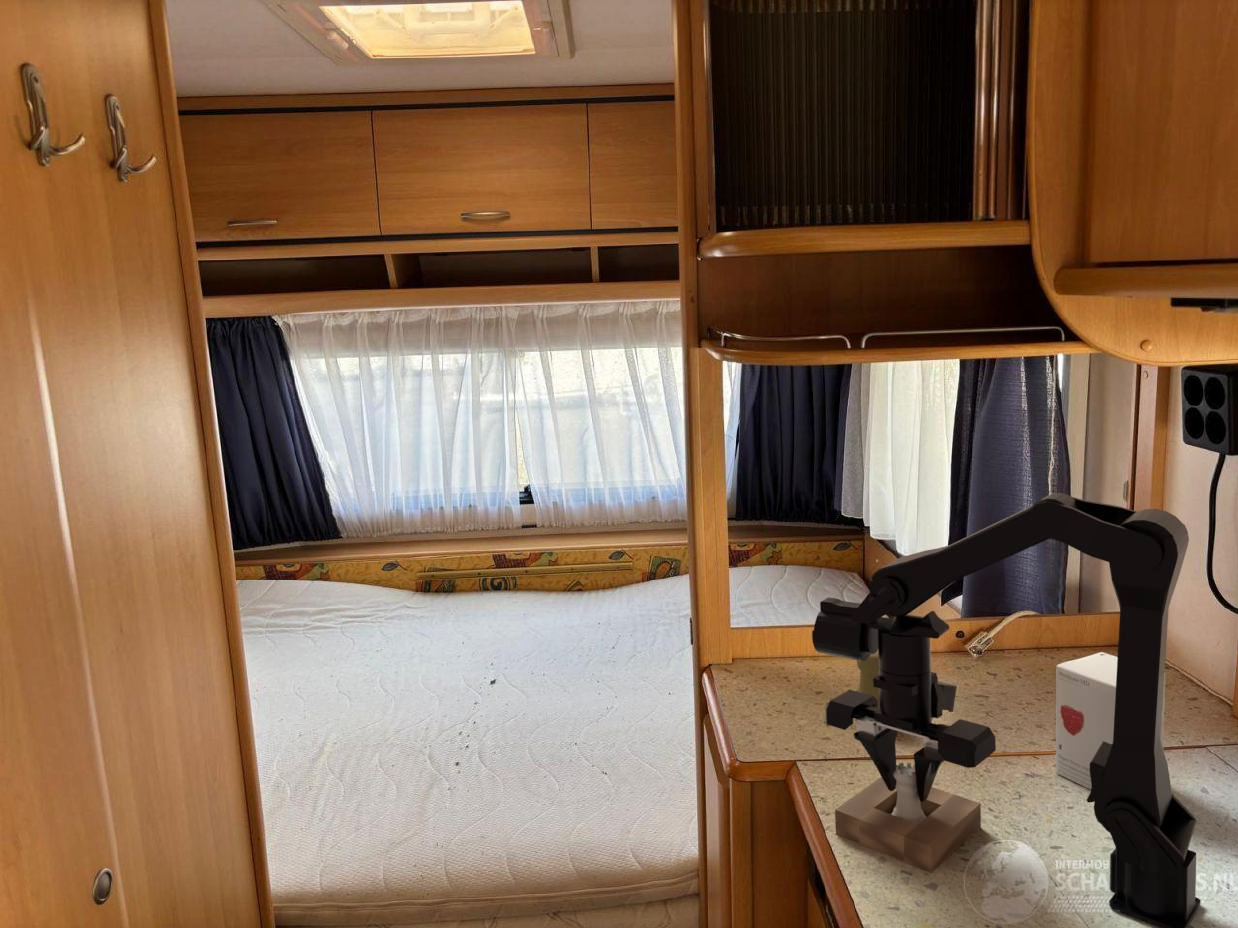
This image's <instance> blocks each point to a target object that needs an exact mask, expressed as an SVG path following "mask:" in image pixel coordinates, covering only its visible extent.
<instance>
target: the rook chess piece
mask: <svg viewBox="0 0 1238 928" xmlns="http://www.w3.org/2000/svg"><path fill="white" fill-rule="evenodd" d="M893 776H894V777H895V779H896V780H897V784H896V786H895V787H896V789H897V802H896V807H895V808H894V810H893V811H894V812H892V814H891V815H894V816H896V817H899V818H902V819H904V820H907V821H910V822H912V823H915V824H919V823H920V822H922V821H923V820H924V819H925V818H926V816H925V815H924V812H923V810H922V809H921V805H920V800H919V796H918V792H917V783H916V773H915V764H913V765H912V763H911V762H906V765H904V763H903V762H900V763H898V764H896V770H895V771H894V773H893Z"/></svg>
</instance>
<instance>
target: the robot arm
mask: <svg viewBox="0 0 1238 928" xmlns="http://www.w3.org/2000/svg"><path fill="white" fill-rule="evenodd" d="M1052 539H1053V540H1055V541H1058V542H1061V543H1063V544H1065V545H1067V546H1069V547H1071V548H1073V549H1075V550H1076V551H1079V552H1080V553H1083V554H1084V555H1087V556H1090V557H1091V558H1094V559H1097V560H1101V561H1104V562H1107V563H1109V564H1108V565H1109V570H1110V571H1109V572H1110V577H1111V582H1112V585H1113V589H1114V592H1115V593H1114V594H1115V596H1116V598H1117V602H1118V605H1119V624H1118V627H1119V628H1118V642H1117V643H1118V645H1117V657H1118V659H1117V677H1116V696H1115V714H1114V732H1113V744H1109V743H1107V742H1104V741H1103V742H1102V743H1101V745H1100V747H1099V749H1098V750H1097V752H1096V754H1095V755H1094V757H1093V759H1092V760H1091V762H1090V777H1091V786H1092V787H1091V790H1090V792H1089V795H1088V796H1087V797H1086V802H1087V803H1093V810H1094V817H1095V818H1096V821H1097V823H1099V824H1100V825H1101V826H1102V827H1103V828H1104V829H1105V830H1106V832H1108V833H1109V834H1110V836H1111V839H1112V842H1113V844H1114V847H1115V848H1114V850H1112V852H1111V853H1110V855H1109V859H1110V860H1109V890H1110V892H1111V893H1113V895H1112V897H1111V898H1110V899H1109V901H1108V903H1109V904H1108V905H1109V907H1110V908H1111V909H1113V910H1116V911H1118V912H1121V913H1124V914H1127V915H1129V916H1131V917H1135V918H1136V919H1139V920H1142V921H1144V922H1147V923H1150V924H1153V925H1155V926H1158V927H1160V928H1188V927H1189V925H1190V923H1191V922H1192V920H1193V918H1195V915H1196V913H1197V912H1198V910H1199V908H1200V907H1201V899H1200V898H1198V897H1196V884H1197V883H1196V881H1197V852H1195V851H1193V850H1190V849H1189V848H1190V845H1191V844H1190V843H1191V840H1192V838H1193V835H1194V833H1195V832H1194V831H1195V828H1196V825H1197V822H1198V821H1197V818H1196V817H1195V816H1194V814H1192V813H1191V811H1189V810H1188V809H1187V808H1186V806H1185V805H1184V804H1183V803H1182V802H1181V801H1180V800H1179V799H1178V798H1177V797H1176V796H1175V795H1174V794H1173V793H1172V785H1171V779H1170V771H1169V764H1168V761H1167V758H1166V755H1165V752H1164V747H1163V748H1162V745H1161V739H1160V736H1161V721H1162V705H1163V689H1164V673H1166V672H1165V671H1166V655H1167V641H1168V640H1167V637H1168V622H1169V608H1170V604H1171V600H1172V598H1173V595H1174V592H1175V589H1176V586H1177V583H1178V580H1179V577H1180V574H1181V571H1182V567H1183V563H1184V560H1185V556H1186V553H1187V550H1188V546H1189V541H1190V538H1189V531H1188V528H1187V527H1186V525H1185V524H1184V523H1183V521H1181V520H1180V519H1179V518H1178V517H1177V516H1176V515H1175V514H1172V513H1171V512H1168V511H1167V510H1162V509H1159V508H1145V509H1143V510H1142V509H1141V510H1139V511H1137V510H1133V509H1130V508H1126V507H1122V506H1119V505H1115V504H1107V503H1102V502H1096V501H1091V500H1085V499H1082V498H1078V497H1076V496H1075V497H1074V496H1072V495H1071V496H1070V495H1068V494H1066V493H1064V492H1055V493H1050V494H1048V495H1046V496H1045V497H1042V498H1041V499H1039V500H1038V501H1036V502H1035V503H1034V504H1033V505H1030V506H1028V507H1026V508H1024V509H1022V510H1020V511H1018V512H1016V513H1013V514H1012V515H1010V516H1008V517H1006V518H1003V519H1001V520H999V521H997V522H995V523H992V524H991V525H988V526H987V527H985V528H982V529H980V530H978V531H977V532H974V533H972V534H970V535H968V536H966V537H964V538H962V539H960V540H957V541H956V542H953V543H951V544H949V545H946V546H942V547H939V548H938V547H937V548H931V549H926V550H923V551H918V552H915V553H911V554H908V555H904V556H901V557H898V558H897V559H895V560H894V561H893V560H892V562H890V563H888V564H886V565H884V566H883V567H880V568H879V569H877V570H876V571H875V572H874V573H873V574H872V575H871V577H870V582H869V584H868V585H869V592H868V594H867V595H866V596H865V597H864V599H863V600H862V602H854V601H845V600H841V599H839V598H835V597H827V598H825V599H822V600H821V601H820V602H819V608H820V610H819V612H818V614H817V616H816V619H815V621H814V626H813V630H812V632H811V639H812V645H813V647H814V649H815V651H816V652H817V653H819V654H822V655H829V656H834V657H839V658H845V659H850V660H856V661H857V660H860V661H865V660H867V659H868V658H869V657H870V655H871V654H875V653H876V652H877V650H878V653H879V675H878V676H876V677H875V678H873V687H876V688H879V689H880V709H879V708H878V700H877V699H876V698H875V697H874V696H872V695H868V694H864V693H861V692H858V691H857V690H853V689H847V690H846V691H844V692H843V693H841V694H839V695H838V696H836V697H834V698H832V699H831V700H829V701H828V702H827V703H826V705H825V708H824V716H825V717H824V718H825V724H826V725H828V726H831V727H834V728H837V729H841V730H844V731H847V729H849V728H850V727H852V726H853V725H854V721H855V722H856V730H857V731H855V732H854V733H853V738H854V740H857V741H859V742H860V744H861V745H862V746H863V749H865V751H866V753H867V754H868V756H869V757H870V759H871V760H872V762H873V764H874V765H875V767H876V769H877V771H878V773H879V774H880V777H882V779H883V780H884V782H885V784H886V786H887V788H888V790H889V791H893V790H894V789H896V787H895V786H896V782H897V780H896V779H895V777H894V776H893V773H894V771H895V770H896V766H897V756H896V755H897V754H896V750H897V749H896V740H897V737H898V733H903V734H905V735H910V736H913V737H915V738H919V739H922V741H923V742H922V743H923V747H922V748H920V749H919V750H917V751H916V752H914V753H913V761H914V762H913V763H914V765H915V773H916V783H917V792H918V796H919V800H920V801H921V802H924V801H925V800H926V799H927V798H928V795H929V792H930V790H931V787H933V783H934V782H935V778H936V777H937V773H938V771H939V768H940V766H942V763H943V762H948V763H951V764H955V765H958V766H961V767H963V768H966V769H967V768H969V769H971V768H972V769H973V768H976V767H977V766H978V765H980V764H981V763H982V762H984V760H986V759H988V757H990V756H991V755H992V754H993V753H995V752H996V750H997V748H996V746H997V745H996V735H995V733H994V732H993V730H992V729H991V727H990V726H987V725H983V724H979V723H976V722H972V721H968V720H965V719H961V718H960V719H958V720H957V721H955V722H953V723H952V724H951V725H948V724H945V723H944V724H943V723H933V719H934V718H935V719H939V718H941V717H942V716H943V711H948V712H949V713H953V712H954V707H955V701H956V694H957V688H958V687H957V685H955V684H951V683H946V682H942V681H939V678H938V675H937V673H936V672H933V671H932V665H931V664H932V661H931V655H932V654H931V651H932V650H931V639H935V640H937V639H939V638H940V637H942V636H943V635H944V634H945V633H947V632H948V631H949V630H950V625H949V624H948V623H947V622H945V621H944V619H942V618H941V617H939V616H938V615H937V613H936V612H935V610H931V611H928V613H926V614H925V615H924V616H922V615H921V616H919V615H914V614H911V612H913V611H915V610H917V608H919V607H920V606H922V605H923V604H926V602H928V601H929V600H931V599H932V598H933V597H935V596H936V595H938V594H939V593H941V592H942V591H943V590H945V589H946V588H948V587H949V586H951V585H952V584H954V583H955V582H956V581H958V580H960V579H962V578H965V577H967V576H969V575H972V574H974V573H976V572H978V571H980V570H983V569H985V568H987V567H990V566H992V565H994V564H997V563H999V562H1001V561H1004V560H1005V559H1007V558H1010V557H1012V556H1014V555H1016V554H1018V553H1021V552H1023V551H1025V550H1028V549H1030V548H1032V547H1034V546H1036V545H1038V544H1041V543H1043V542H1045V541H1048V540H1052ZM886 615H889V616H891V618H890V617H884V616H886ZM892 617H893V618H892Z"/></svg>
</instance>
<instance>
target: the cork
mask: <svg viewBox="0 0 1238 928" xmlns="http://www.w3.org/2000/svg"><path fill="white" fill-rule="evenodd" d="M856 665H857V668H858V669H859V671H860V672H859V673H860V674H859V681H858V682H859V683H858V691H857V692H861V693H864V694H868V695H872V696H874V697H875V698H876V699H877V700H878V708H879V709H880V689H879V688H876V687H873V678H875V677H876V676H878V675H879V653H878V650H877V652H876V653H875V654H871V655H870V657H869V658H868V659H867V660H865V661H860V660H856Z"/></svg>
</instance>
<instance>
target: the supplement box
mask: <svg viewBox="0 0 1238 928" xmlns="http://www.w3.org/2000/svg"><path fill="white" fill-rule="evenodd" d="M1117 659H1118V656H1116V655H1112V654H1109V653H1106V652H1102V651H1100V652H1097V653H1094V654H1091V655H1087V656H1084V657H1081V658H1077V659H1073V660H1069V661H1064V662H1061V663H1059V664H1056V670H1055V671H1056V685H1055V688H1056V691H1055V692H1056V696H1055V697H1056V701H1055V702H1056V703H1055V704H1056V707H1055V708H1056V709H1055V710H1056V713H1055V714H1056V715H1055V726H1056V727H1055V774H1058V775H1059V776H1062V777H1064V778H1066V779H1068V780H1069V781H1072V782H1074V783H1076V784H1078V785H1081V786H1082V787H1084V788H1086V789H1089V790H1090V791H1091V787H1092V786H1091V777H1090V762H1091V760H1092V759H1093V757H1094V755H1095V754H1096V752H1097V750H1098V749H1099V747H1100V745H1101V743H1102V742H1103V741H1104V742H1107V743H1109V744H1113V732H1114V714H1115V696H1116V677H1117ZM1166 675H1167V673H1166V672H1165V673H1164V689H1163V705H1162V721H1161V736H1160V739H1161V745H1162V748H1163V749H1164V740H1165V739H1164V737H1165V736H1164V734H1165V733H1164V732H1165V708H1166V707H1165V697H1166Z"/></svg>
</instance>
